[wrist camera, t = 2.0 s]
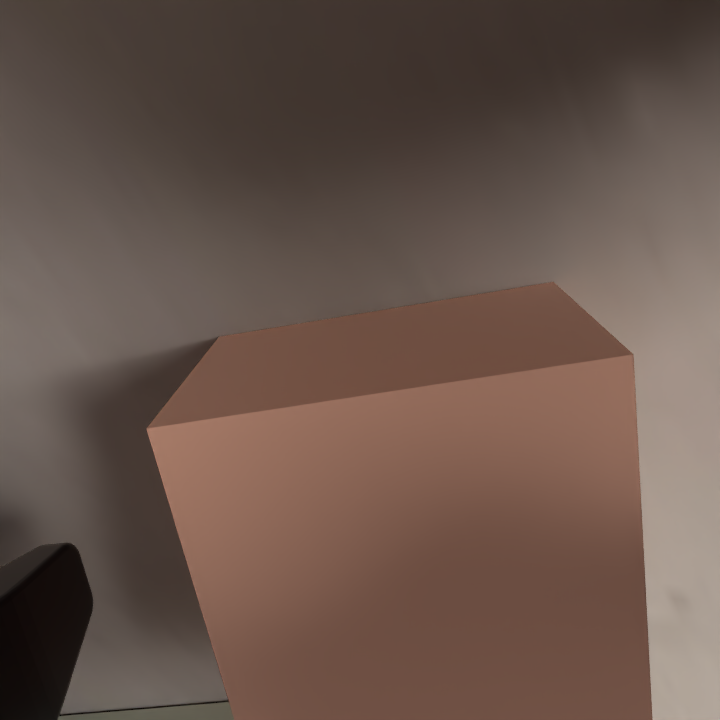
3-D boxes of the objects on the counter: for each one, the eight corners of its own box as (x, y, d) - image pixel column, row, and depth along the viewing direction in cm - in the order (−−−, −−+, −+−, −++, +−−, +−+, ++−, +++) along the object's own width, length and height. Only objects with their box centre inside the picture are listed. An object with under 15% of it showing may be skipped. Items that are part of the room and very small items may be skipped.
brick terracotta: (550, 278, 10) (633, 354, 7) (575, 565, 12) (652, 740, 8) (221, 333, 10) (146, 428, 7) (289, 601, 12) (252, 782, 9)
